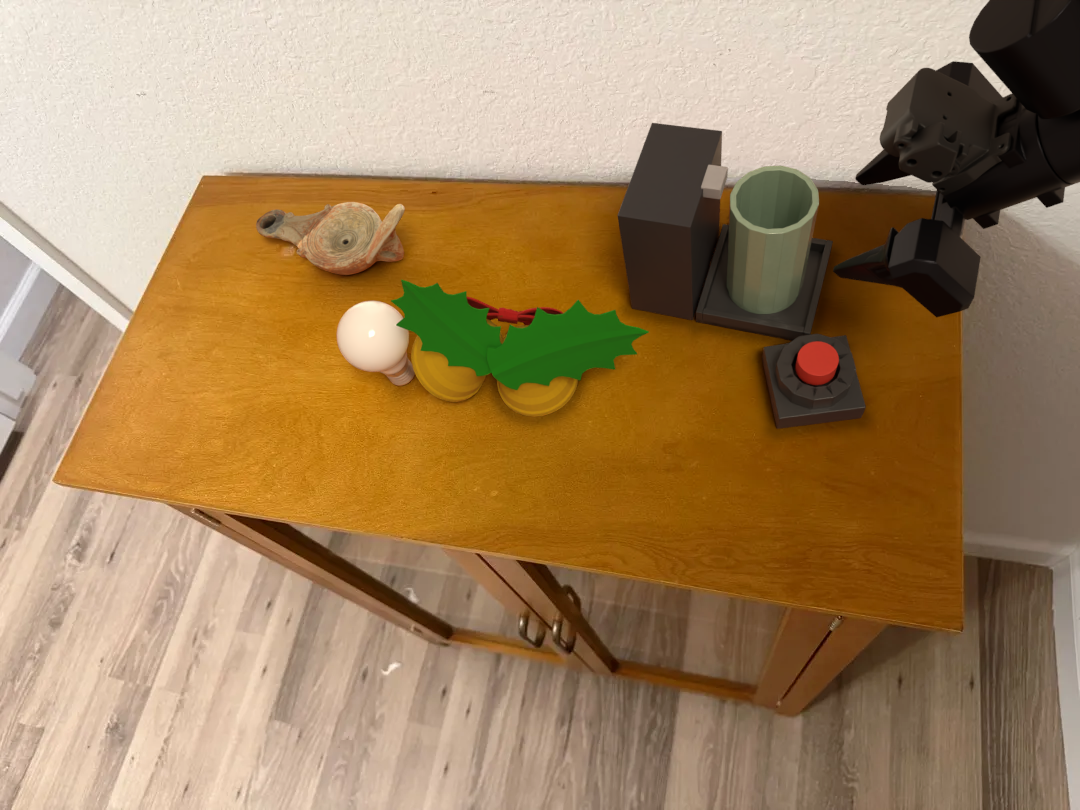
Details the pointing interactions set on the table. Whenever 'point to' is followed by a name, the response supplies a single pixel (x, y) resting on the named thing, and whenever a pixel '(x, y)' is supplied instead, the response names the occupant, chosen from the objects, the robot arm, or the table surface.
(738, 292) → the cup
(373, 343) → the lightbulb
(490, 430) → the table surface
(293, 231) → the oil lamp
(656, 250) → the coffee maker
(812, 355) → the button
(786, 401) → the button block
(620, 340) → the ornament
